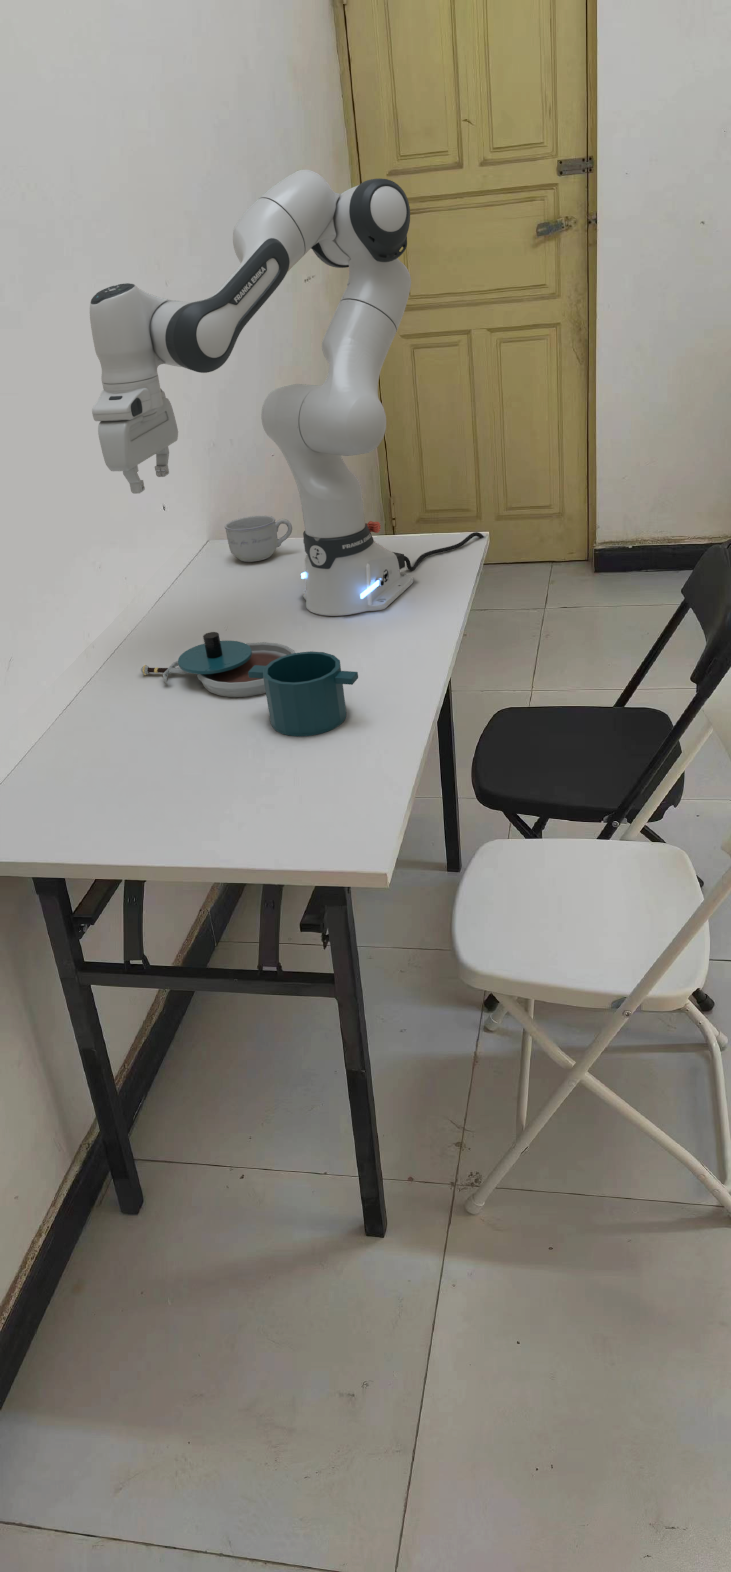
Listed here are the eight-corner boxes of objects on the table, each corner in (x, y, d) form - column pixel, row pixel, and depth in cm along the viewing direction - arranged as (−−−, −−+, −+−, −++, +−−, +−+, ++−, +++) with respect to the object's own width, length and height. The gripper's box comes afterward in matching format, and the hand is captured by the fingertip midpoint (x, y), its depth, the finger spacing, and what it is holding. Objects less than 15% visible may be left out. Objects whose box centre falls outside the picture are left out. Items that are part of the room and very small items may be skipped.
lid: (200, 645, 191) (195, 619, 189) (264, 648, 187) (260, 622, 184) (165, 675, 182) (160, 648, 179) (232, 679, 177) (227, 652, 175)
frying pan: (159, 641, 195) (311, 639, 187) (163, 657, 197) (313, 655, 189) (117, 684, 181) (279, 683, 173) (121, 700, 183) (282, 700, 175)
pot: (274, 698, 176) (266, 648, 172) (373, 705, 170) (368, 654, 166) (242, 731, 167) (233, 680, 163) (346, 740, 161) (339, 687, 157)
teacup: (224, 567, 234) (218, 530, 230) (238, 550, 243) (232, 514, 239) (288, 564, 231) (283, 527, 227) (299, 547, 240) (295, 510, 236)
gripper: (144, 384, 186) (160, 467, 193) (85, 412, 170) (105, 502, 177) (178, 382, 185) (193, 466, 192) (122, 411, 168) (141, 501, 175)
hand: (151, 483), depth 184 cm, fingers open, 8 cm apart
